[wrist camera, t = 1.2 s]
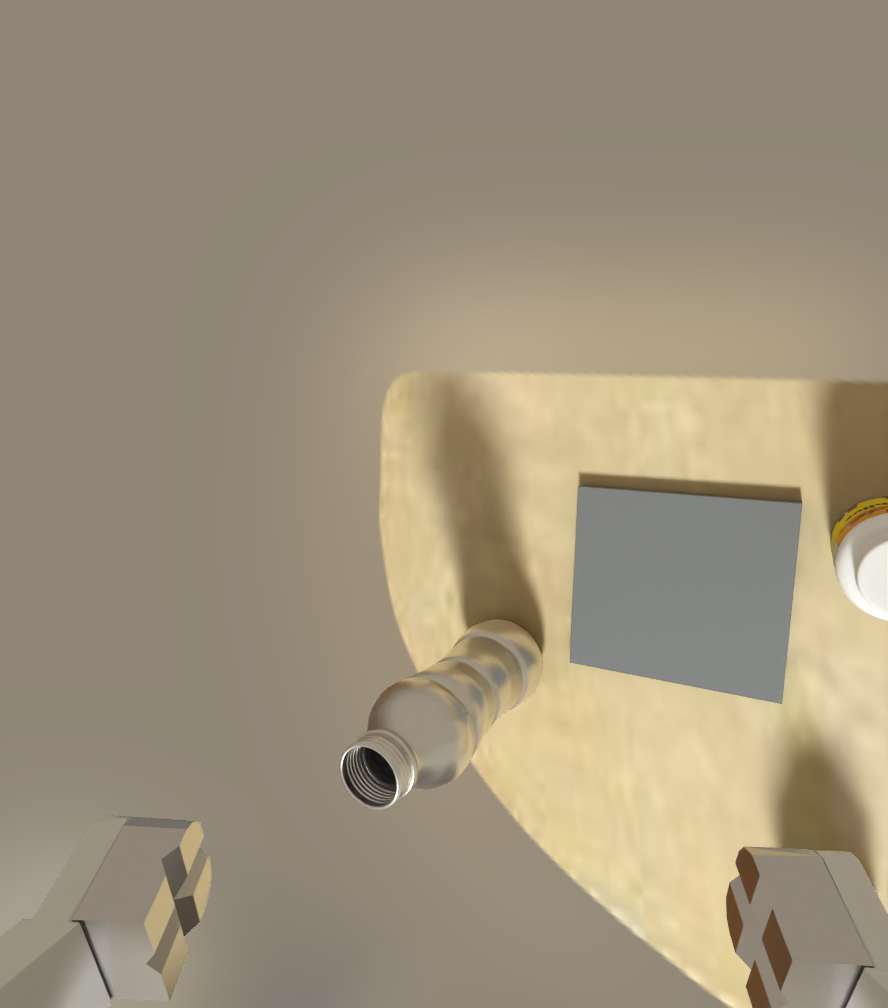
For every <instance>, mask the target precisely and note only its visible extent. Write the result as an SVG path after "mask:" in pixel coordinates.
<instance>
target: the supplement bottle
mask: <svg viewBox="0 0 888 1008" xmlns="http://www.w3.org/2000/svg"><path fill="white" fill-rule="evenodd" d="M831 551H832V556H833V562H834V566H835V572H836V576H837V579H838V582H839V584H840V587H841V588H842V590H843V592H844V593H845V595H846V596H847V597H848V598H849V599H850V600H851V602H853V603H854V604H855V605H856V606H857V607H859V608H860V609H861V610H863V611H865V612H866V613H868V614H870V615H872V616H875V617H878V618H881V619H884V620H888V497H886V496H884V497H874V498H869V499H866V500H863V501H860V502H858V503H856V504H854V505H853V506H851V507H850V508H848V509H847V510H846V511H845V512H844V513H843V514H842V515H841V516H840V517H839V518H838V520H837V521H836V523H835V525H834V528H833V530H832V534H831Z"/></svg>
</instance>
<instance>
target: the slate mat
mask: <svg viewBox="0 0 888 1008" xmlns="http://www.w3.org/2000/svg"><path fill="white" fill-rule="evenodd" d="M801 511H802V502H792V501H779V500H766V499H753V498H739V497H726V496H713V495H700V494H687V493H674V492H661V491H647V490H634V489H621V488H608V487H595V486H579V487H578V507H577V527H576V547H575V568H574V588H573V608H572V628H571V649H570V663H575V664H580V665H586V666H591V667H596V668H601V669H606V670H611V671H616V672H621V673H626V674H632V675H637V676H642V677H647V678H652V679H657V680H662V681H667V682H672V683H678V684H683V685H688V686H693V687H698V688H703V689H708V690H713V691H718V692H724V693H729V694H734V695H739V696H744V697H749V698H754V699H759V700H765V701H770V702H775V703H780V704H782V699H783V689H784V679H785V669H786V659H787V649H788V639H789V629H790V620H791V610H792V600H793V590H794V580H795V570H796V560H797V550H798V540H799V530H800V521H801Z"/></svg>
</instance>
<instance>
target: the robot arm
mask: <svg viewBox="0 0 888 1008" xmlns="http://www.w3.org/2000/svg"><path fill="white" fill-rule="evenodd" d="M203 837H204V834H203V831H202V827H201V824H200V822H199V821H186V820H172V819H157V818H143V817H132V816H113V815H112V816H111V815H100V816H99V817H98V818H97V819H96V820H95V821H94V822H92V823H91V825H90V826H89V827H88V829H87V831H86V832H85V834H84V835H83V837H82V839H81V840H80V842H79V844H78V846H77V847H76V849H75V851H74V852H73V854H72V855H71V857H70V859H69V860H68V862H67V864H66V866H65V867H64V869H63V870H62V872H61V874H60V875H59V877H58V879H57V880H56V882H55V884H54V885H53V887H52V888H51V890H50V892H49V893H48V895H47V897H46V898H45V900H44V902H43V903H42V905H41V907H40V908H39V910H38V912H37V913H36V915H35V917H34V918H33V919H22V920H21V921H20V922H18V923H17V924H16V925H14V926H13V927H12V928H11V929H10V930H8V931H7V932H5V933H4V934H3V935H1V936H0V1008H108V1007H109V1006H110V1005H111V1003H112V1002H111V999H113V1000H145V1001H170V999H171V997H172V994H173V991H174V989H175V986H176V984H177V981H178V978H179V976H180V973H181V971H182V968H183V965H184V963H185V960H186V958H187V955H188V950H187V946H186V942H185V939H184V936H185V935H186V934H187V933H189V932H190V931H191V930H192V929H193V928H194V927H195V926H196V925H197V924H198V923H199V922H200V921H201V918H202V915H203V912H204V910H205V907H206V904H207V901H208V895H209V889H210V884H211V863H210V859H209V855H208V854H207V853H205V852H204V851H203V850H202V849H201V848H200V844H201V842H202V840H203ZM735 863H736V866H737V869H738V872H739V876H738V877H737V878H735V879H734V880H732V881H731V882H730V883H729V888H728V892H727V896H726V910H727V921H728V927H729V932H730V936H731V939H732V943H733V946H734V949H735V953H736V954H737V955H738V956H739V957H740V958H741V959H742V960H743V961H744V962H745V963H746V964H747V965H748V966H749V968H750V969H751V972H750V975H749V978H748V981H747V984H746V988H747V992H748V995H749V998H750V1001H751V1004H752V1007H753V1008H888V914H887V912H886V910H885V908H884V906H883V904H882V902H881V900H880V899H879V897H878V895H877V893H876V891H875V889H874V887H873V886H872V884H871V882H870V880H869V878H868V876H867V874H866V873H865V871H864V869H863V867H862V865H861V863H860V861H859V859H857V858H856V857H855V856H854V855H853V854H852V853H851V852H846V851H818V850H811V849H796V848H765V847H743V848H742V849H741V850H740V851H739V852H738V856H737V859H736V862H735Z"/></svg>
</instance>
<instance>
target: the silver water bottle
mask: <svg viewBox="0 0 888 1008" xmlns="http://www.w3.org/2000/svg"><path fill="white" fill-rule="evenodd" d="M542 664H543V661H542V656H541V652H540V650H539V647H538V645H537V644H536V642H535V640H534V639H533V638H532V636H531V635H530V634H529V633H528V632H527V631H526V630H524V629H523V628H522V627H520V626H519V625H517V624H515V623H513V622H510V621H507V620H501V619H492V620H488V621H485V622H481V623H478V624H476V625H474V626H472V627H470V628H469V629H468V630H467V631H466V632H465V633H464V634H463V635H462V636H461V637H460V638H459V640H458V641H457V643H456V644H455V646H454V647H453V649H452V650H451V651H450V652H449V653H448V654H447V655H446V656H445V657H444V658H443V659H442V660H441V661H439V662H437V663H436V664H434V665H432V666H431V667H429V668H428V669H426V670H424V671H422V672H420V673H417V674H415V675H413V676H410V677H408V678H406V679H403V680H401V681H399V682H397V683H395V684H393V685H392V686H390V687H388V688H387V689H386V690H384V691H383V692H382V693H381V695H380V696H379V698H378V699H377V701H376V702H375V704H374V706H373V708H372V710H371V712H370V715H369V719H368V726H367V731H366V732H365V733H364V734H362V735H361V736H360V737H359V738H358V739H357V741H356V742H354V743H353V744H352V745H350V746H349V747H348V748H347V749H346V750H345V752H344V753H343V755H342V757H341V761H340V774H341V778H342V781H343V783H344V786H345V787H346V789H347V791H348V792H349V794H350V795H351V796H352V797H353V798H354V799H355V800H356V801H357V802H359V803H360V804H361V805H364V806H365V807H367V808H370V809H376V810H380V809H385V808H388V807H389V806H391V805H393V804H394V803H395V802H396V801H397V800H398V799H399V798H401V797H403V796H405V795H406V794H407V793H408V792H409V791H410V790H412V789H421V790H430V789H435V788H438V787H440V786H443V785H446V784H448V783H450V782H452V781H453V780H455V779H456V778H457V777H459V776H460V774H461V773H462V772H463V771H464V769H465V768H466V766H467V765H468V763H469V762H470V760H471V758H472V756H473V754H474V752H475V751H476V749H477V747H478V745H479V743H480V741H481V739H482V738H483V736H484V735H485V733H486V732H487V731H488V730H489V728H490V727H491V726H492V724H493V723H494V722H495V721H496V720H497V719H498V718H499V717H501V716H502V715H503V714H504V713H506V712H507V711H508V710H510V709H512V708H515V707H517V706H518V705H520V704H521V703H523V702H524V701H525V700H527V699H528V698H529V697H530V696H531V695H532V694H533V692H534V691H535V689H536V687H537V685H538V682H539V680H540V677H541V674H542Z"/></svg>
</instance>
